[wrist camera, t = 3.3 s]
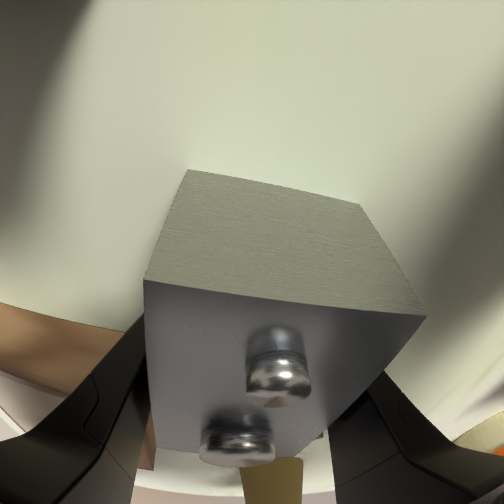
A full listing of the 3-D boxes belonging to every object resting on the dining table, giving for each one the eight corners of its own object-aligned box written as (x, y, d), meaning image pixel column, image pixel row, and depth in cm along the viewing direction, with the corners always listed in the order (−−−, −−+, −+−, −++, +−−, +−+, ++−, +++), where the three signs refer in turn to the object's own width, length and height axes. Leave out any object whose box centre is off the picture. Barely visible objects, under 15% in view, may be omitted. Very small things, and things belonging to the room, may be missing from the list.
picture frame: (139, 334, 12) (121, 403, 9) (157, 434, 19) (153, 473, 16) (-30, 293, 11) (-59, 338, 8) (38, 403, 17) (27, 437, 15)
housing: (359, 204, 9) (441, 343, 4) (283, 364, 13) (295, 472, 9) (187, 169, 8) (132, 313, 4) (171, 350, 12) (154, 464, 8)
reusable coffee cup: (516, 396, 23) (549, 491, 11) (516, 410, 29) (541, 484, 16) (433, 446, 28) (455, 540, 16) (451, 450, 33) (470, 523, 21)
